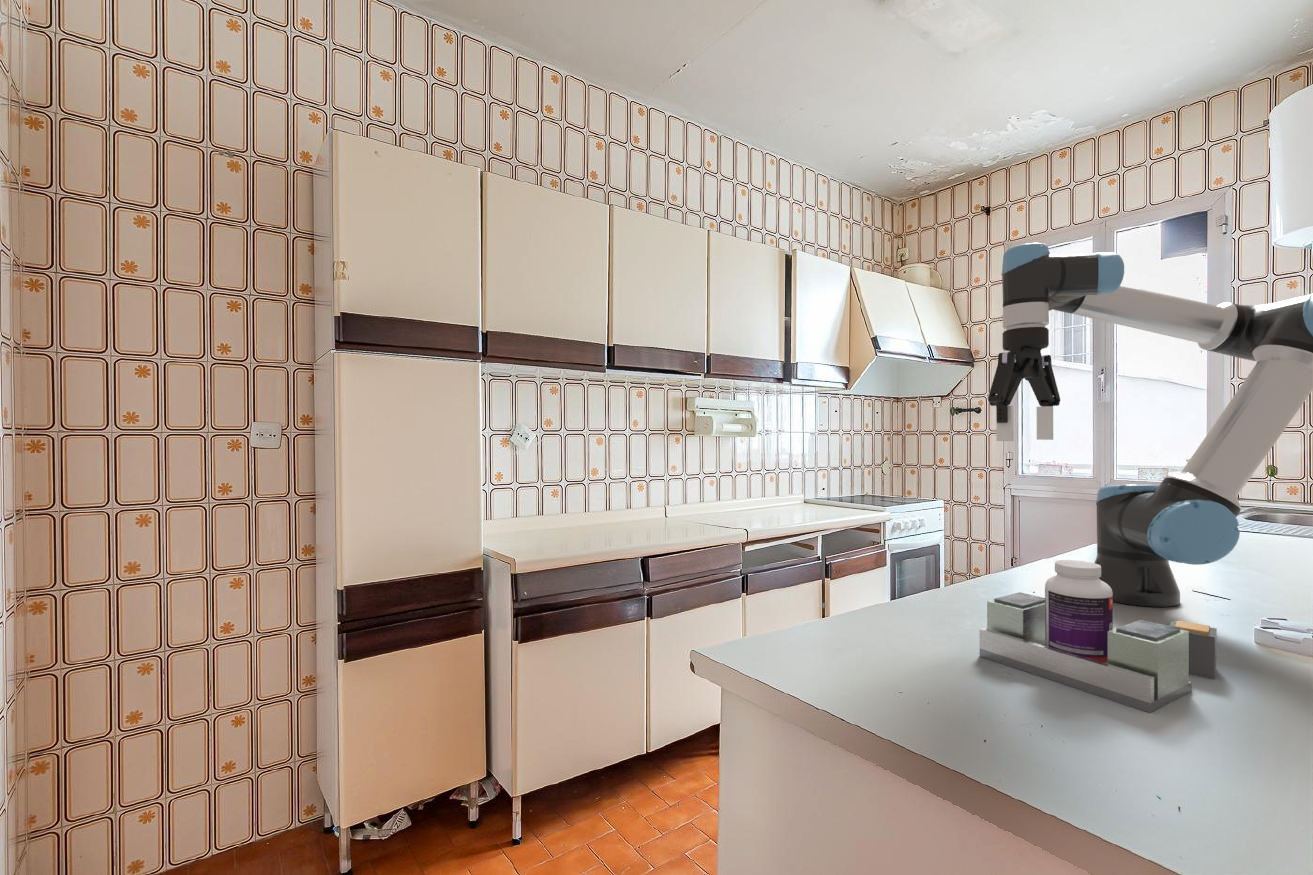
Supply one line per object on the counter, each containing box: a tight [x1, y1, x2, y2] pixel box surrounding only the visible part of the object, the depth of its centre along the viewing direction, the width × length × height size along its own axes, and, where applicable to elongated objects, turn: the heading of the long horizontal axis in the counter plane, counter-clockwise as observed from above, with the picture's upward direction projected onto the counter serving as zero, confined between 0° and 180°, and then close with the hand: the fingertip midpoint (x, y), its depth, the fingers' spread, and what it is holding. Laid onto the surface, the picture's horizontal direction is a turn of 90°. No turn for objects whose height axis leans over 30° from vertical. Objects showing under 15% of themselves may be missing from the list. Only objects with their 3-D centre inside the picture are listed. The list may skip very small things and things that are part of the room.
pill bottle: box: [1044, 559, 1114, 664], centre depth 88 cm, size 8×8×14 cm
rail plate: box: [978, 591, 1193, 714], centre depth 88 cm, size 12×22×9 cm, turn 30°
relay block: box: [1169, 620, 1218, 680], centre depth 88 cm, size 5×5×6 cm
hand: (1025, 440), depth 116 cm, fingers open, 13 cm apart
